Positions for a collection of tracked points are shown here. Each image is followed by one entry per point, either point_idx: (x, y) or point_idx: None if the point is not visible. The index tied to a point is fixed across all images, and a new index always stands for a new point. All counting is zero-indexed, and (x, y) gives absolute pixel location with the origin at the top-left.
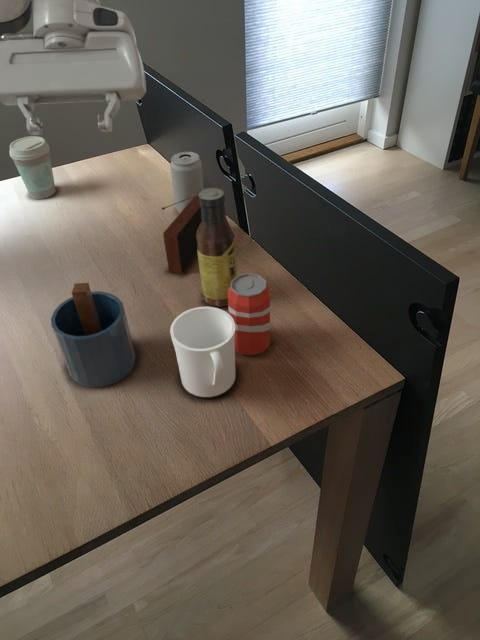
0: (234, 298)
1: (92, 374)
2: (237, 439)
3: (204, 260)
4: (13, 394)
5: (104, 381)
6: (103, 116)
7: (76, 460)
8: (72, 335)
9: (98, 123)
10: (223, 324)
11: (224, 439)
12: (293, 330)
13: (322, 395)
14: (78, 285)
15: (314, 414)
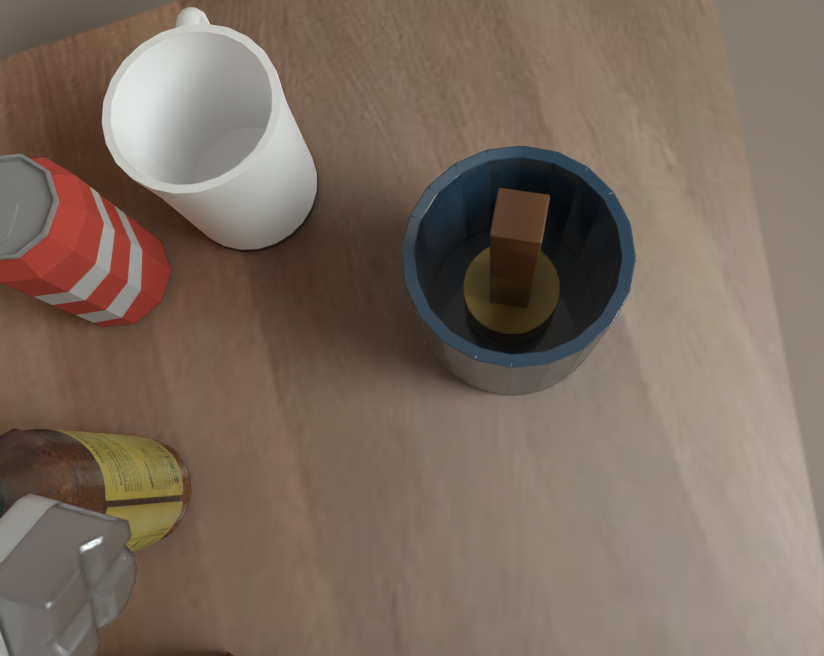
0: (67, 186)
1: None
2: (237, 22)
3: (104, 454)
4: (743, 249)
5: None
6: (9, 576)
7: (570, 35)
8: (562, 167)
9: (99, 537)
10: (141, 166)
11: (262, 26)
12: (6, 300)
13: (33, 91)
14: (525, 226)
15: (69, 49)
